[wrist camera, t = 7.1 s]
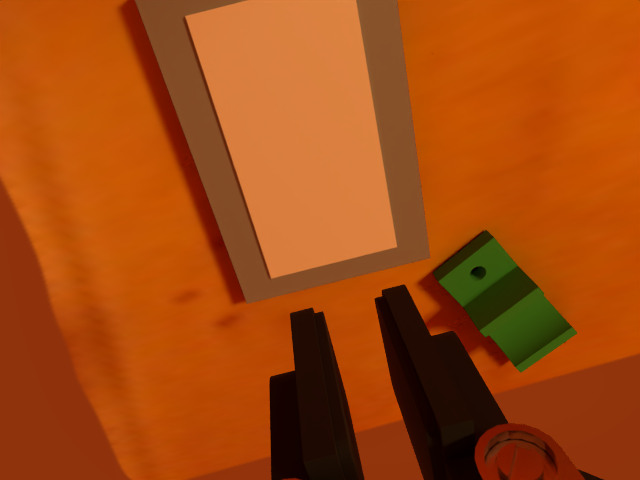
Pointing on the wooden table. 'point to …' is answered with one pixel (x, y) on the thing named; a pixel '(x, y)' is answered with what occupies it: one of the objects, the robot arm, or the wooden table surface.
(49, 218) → the wooden table surface
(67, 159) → the wooden table surface
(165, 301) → the wooden table surface
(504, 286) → the pipe clamp
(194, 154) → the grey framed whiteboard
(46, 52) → the wooden table surface
